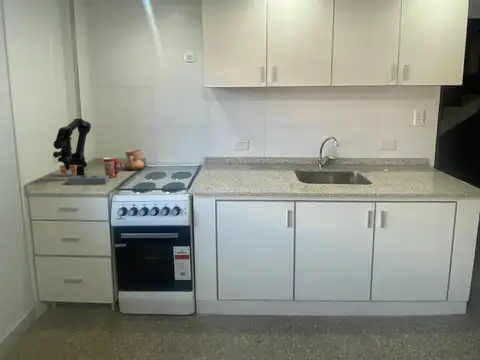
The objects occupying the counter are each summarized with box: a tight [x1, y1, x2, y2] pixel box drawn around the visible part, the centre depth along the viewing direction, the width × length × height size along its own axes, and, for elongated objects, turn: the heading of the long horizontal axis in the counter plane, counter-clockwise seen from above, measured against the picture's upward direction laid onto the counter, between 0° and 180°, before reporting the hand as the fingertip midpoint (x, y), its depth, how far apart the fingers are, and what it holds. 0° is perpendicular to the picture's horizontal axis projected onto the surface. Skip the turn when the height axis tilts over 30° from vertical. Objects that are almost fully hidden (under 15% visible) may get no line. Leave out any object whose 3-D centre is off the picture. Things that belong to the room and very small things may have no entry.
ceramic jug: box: [124, 149, 145, 171], centre depth 334 cm, size 18×14×14 cm
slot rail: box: [67, 174, 110, 186], centre depth 292 cm, size 9×24×4 cm, turn 92°
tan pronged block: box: [59, 164, 77, 176], centre depth 300 cm, size 4×10×6 cm, turn 92°
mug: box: [102, 156, 123, 179], centre depth 308 cm, size 13×9×14 cm
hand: (68, 169), depth 300 cm, fingers closed on tan pronged block, 3 cm apart
